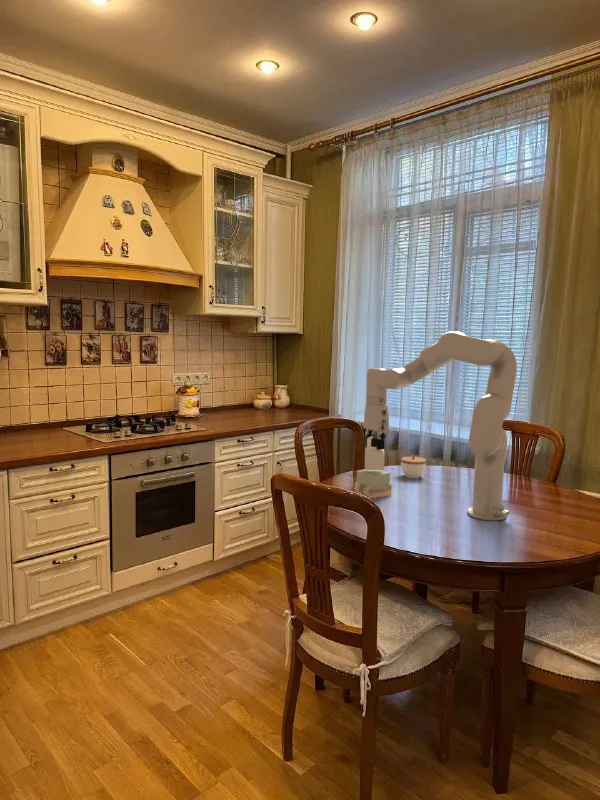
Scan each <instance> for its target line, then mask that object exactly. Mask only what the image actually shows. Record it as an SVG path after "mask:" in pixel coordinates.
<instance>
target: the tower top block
mask: <svg viewBox="0 0 600 800" xmlns="http://www.w3.org/2000/svg"><path fill="white" fill-rule="evenodd" d="M390 481H391V472H388V471H385V470H366V469H359V470H356V482H357V483H360V484H363V485H366V486H368V487H371V488H373V487H379V486H384V485H391V482H390Z"/></svg>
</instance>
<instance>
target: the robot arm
mask: <svg viewBox="0 0 600 800" xmlns="http://www.w3.org/2000/svg"><path fill="white" fill-rule="evenodd" d="M455 360H456V361H459V362H464V363H467V364H471V365H475V366H479V367H481V366H482V367H488V366H489V367H490V372H489V376H488V378H487V385H486V390H485V395H484V396H482V397H481V398H479V400H477V402H476V404H475V407H474V410H473V415H472V421H471V426H470V430H469V437H468V438H469V439H468V442H469V443H468V444H469V447H470V449H471V451H472V452H473V453H474V454H475V459H474V460H475V461H474V468H473V469H474V472H473V492H472V506H470V507H469V508H467V511H466V512H467V514H468V515H469V516H470V517H472V518H475V519H478V520H483V521H493V522H494V521H502V520H503V521H504V519H507V518H508V516H509V515H510V512H511V511H510V510H507V509H505V504H503V491H504V474H505V465H506V464H505V462H506V461H505V460H506V456H507V455H506V453H507V447H508V435H507V433H506V430H505V429H504V428H503V424H504V420H505V419H507V418H508V417H509V416H510V413H511V410H512V402H513V396H514V392H515V384H516V380H517V379H516V377H517V371H518V365H517V363H518V362H517V359H516V356H515V354H514V351H512V349H511V348H510V347H509V346H507V345H506V344H505V343H503V342H501V341H500V340H495V339H482V338H479V337H473V336H468V335H466V334H465V333H463V332H461V331H448V332H445V333H443V334H442V335H441V336H440V338H439V339H438V340H437V342H434V343H433V344H431V345H429V346H427V347H426V348H424V349H422V350H421V351H420V353H419V355H418V357H416V358H415V359H413V360H412V361H411V362H409V363H408V364H405V365H404V366H401V367H398V368H397V367H395V368H388V369H386V368H379V367H371V368H368V369H367V371H366V393H365V394H366V398H365V399H366V401H365V408H364V416H363V423H362V425H361V426H362V428H363V430H364V433H365V434H364V436H365V446H366V447H367V438H368V437H372V436H374V432H376V435H377V436H376V437H378V439H377V450H381V449H384V450H385V441H386V440H385V439H386V438H387V436H388V434H389V433H390V419H389V418H390V417H389V408H388V405H387V394H388V393H387V391H388V390H398V389H403V388H406V387H407V388H408V387H409V386H411V385H413V384H415V383H417V382H418V381H420V380H422V379H423V378H424V379H425V377H427V376H428V375H430V374H432V373H434V372H435V371H437V370H439V369H441V368H442V367H444V366H446V365H448V364H450V363H451V362H453V361H455ZM387 389H388V390H387Z"/></svg>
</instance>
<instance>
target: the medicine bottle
mask: <svg viewBox="0 0 600 800" xmlns="http://www.w3.org/2000/svg"><path fill="white" fill-rule="evenodd" d="M377 439H378V436H374V435H372V437H368V438H367V446H366V447H365V448H364V470H382V471H385V455H386V454H385V453H386V452H385V448H384V449H381V450H377Z"/></svg>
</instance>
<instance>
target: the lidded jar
mask: <svg viewBox="0 0 600 800" xmlns="http://www.w3.org/2000/svg"><path fill="white" fill-rule="evenodd" d="M426 463H427V460H426V458H424V457H421V456H416V455H412V456H403V457H401V458H400V469H401V471H402V473H403V475H404V476H405V477H406V478H408V479H419V478H421V477H422V475H423V474H424V473H425V469H426Z"/></svg>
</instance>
